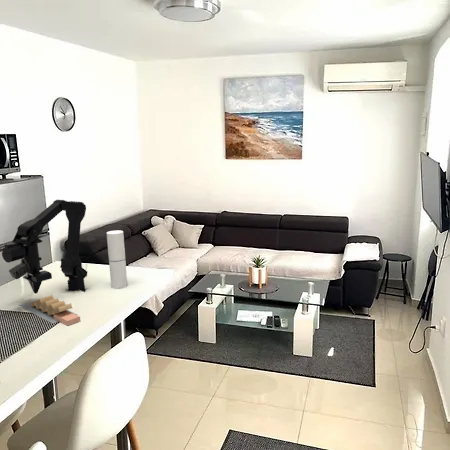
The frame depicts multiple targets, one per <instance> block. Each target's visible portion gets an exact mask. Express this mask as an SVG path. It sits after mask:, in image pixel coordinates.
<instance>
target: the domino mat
mask: <svg viewBox="0 0 450 450" xmlns="http://www.w3.org/2000/svg"><path fill="white" fill-rule="evenodd" d="M41 298H42V297H41ZM41 298H38V299H41ZM38 299H37V298H36V299H33V300H32V301H27V302H25V303H21V304H18V307H20V308H22V309H24V310H26V311H28V312H29V313H31V314H33V315H35V316H37V317H39V318H40V319H43V320H45V321H47V322H48V323H50V324H56V323H59V322H60V321H58V320H56V319H54V314H52V315H49V316H48V313H47V312H43V313H42V310H41V309H38V310H37V309H36V306H34V307H31V304H30V303H31V302H33V301H36V300H38ZM67 311H70V312H72V313H74V312H73V311H71V310H70V309H68V310H67ZM74 314H76V315H78V314H77V313H74Z"/></svg>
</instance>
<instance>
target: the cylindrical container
mask: <svg viewBox="0 0 450 450" xmlns="http://www.w3.org/2000/svg"><path fill="white" fill-rule="evenodd" d="M124 235H125V234H124V231H123V230H120V229H119V230H109V231H107V232H106V242H107V253H108V264H109V277H110V287H111V288H112V289H113V290H114V289H115V290H117V289H124V288H126V287H128V276H127V265H126V264H127V263H126V251H125V250H126V248H125V238H124Z"/></svg>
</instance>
